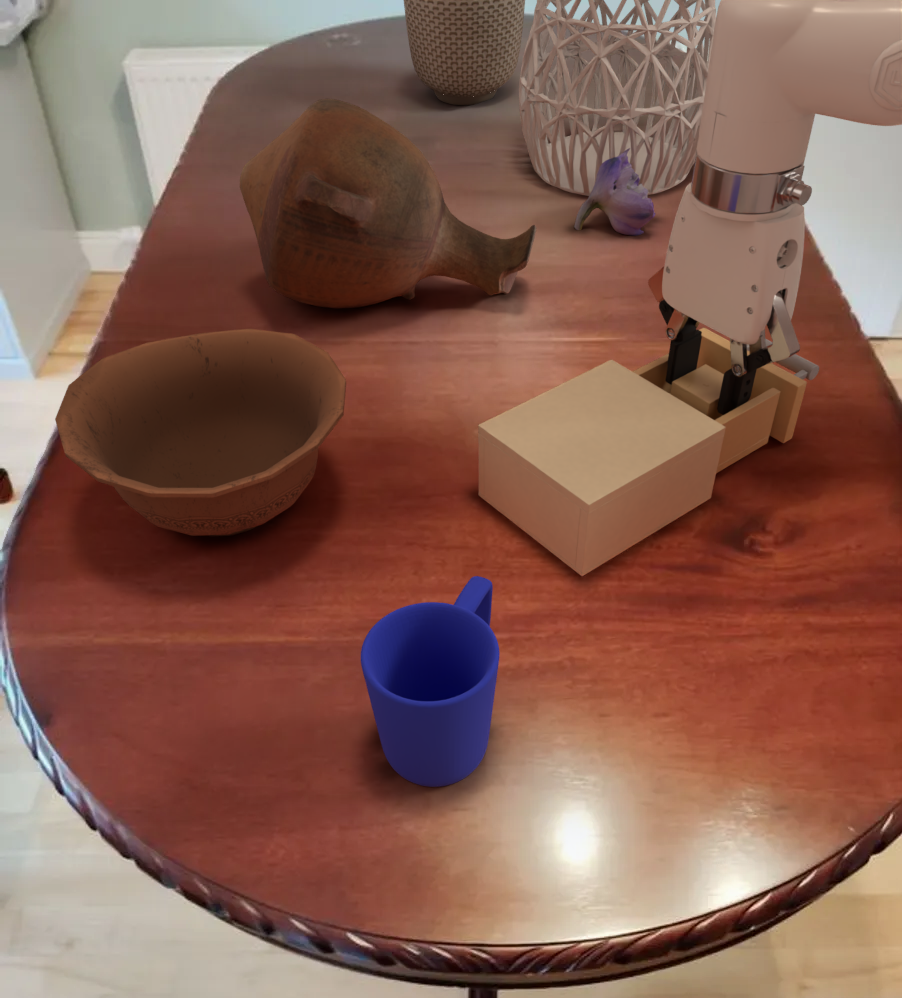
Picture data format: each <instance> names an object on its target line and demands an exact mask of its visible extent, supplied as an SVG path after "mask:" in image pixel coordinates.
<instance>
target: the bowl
mask: <svg viewBox="0 0 902 998" xmlns="http://www.w3.org/2000/svg"><path fill="white" fill-rule="evenodd" d="M346 390H347V378H346V377H345V376H344V374H343V373H342V371H341V369H340V367H338V365H337V364H336V363H335V360H334V359H333V358H332V356H331V355H330V353H329V352H328V351H326V350H325V349H323V348H321V347H319V346H317V345H315V344H314V343H312V342H310V341H308V340H306V339H304V338H302V337H301V336H299V335H297V334H295V333H290V332H282V331H280V332H279V331H273V330H263V329H255V328H242V329H233V330H232V329H230V330H222V331H211V332H201V333H194V334H189V335H183V336H177V337H172V338H171V337H170V338H165V339H159V340H154V341H148V342H145V343H143V344H139V345H137V346H134V347H131V348H127V349H125V350H123V351H120V352H117V353H114V354H110V355H108V356H106V357H103V358H101V359H99V360H98V361H97V362H96V363H94V364H93V365H92V366H90V367H89V368H88V369H86V371H85V372H83V373H82V374H81V375H79V376H78V377H77V378H76V379H74V380H73V381H72V382H70V383H69V384H68V386H67V388H66V391H65V393H64V396H63V398H62V400H61V403H60V406H59V408H58V410H57V413H56V416H55V418H54V421H55V424H56V427H57V431H58V434H59V435H58V436H59V437H60V441H61V445H62V448H63V451H64V455H65V458H67V459H69V460H70V461H71V462H73V463H74V464H75V465H76V466H78V467H79V468H80V469H81V470H82V471H84V472H85V473H87V474H88V475H89V476H90V477H92V478H93V479H94V480H96V481H97V482H99V483H101V484H105V485H109V486H111V487H113V488H114V490H115V491H116V492H117V494H118V495H119V496H120V497H121V499H122V500H123V501H124V502H125V503H126V504H127V505H128V506H129V507H130V508H132V509H133V510H134V511H135V512H137V513H138V514H139V515H140V516H142V517H143V518H144V519H146V521H148V522H150V523H151V524H152V525H154V526H155V527H158V528H162V529H165V530H169V531H173V532H177V533H181V534H183V535H184V534H185V535H187V536H188V535H189V536H192V537H193V536H195V537H196V536H197V537H198V536H209V537H219V536H220V537H223V536H234V535H238V534H240V533H244V532H247V531H251V530H253V529H255V528H257V527H258V526H261V525H264V524H266V523H267V522H269V521H271V520H273V519H274V518H275V517H277V516H278V515H280V514H281V513H283V512H284V511H286V510H288V509H289V508H291V507H292V506H294V504H295V503H296V502H297V500H298V499H299V498H300V496H301V495H302V493H304V491H305V489H306V488H307V487H308V485H309V484H310V482H312V480H313V478H314V476H315V473H316V470H317V464H318V458H319V449H320V447H321V446H322V444H323V443H324V441H325V440H326V439H327V438H328V436H329V435H330V434H331V432H332V431H333V430H334V428H335V427H336V426H337V425H338V423H339V422H340V420H341V419H342V418H343V417H344V414H345V403H346V392H347V391H346Z"/></svg>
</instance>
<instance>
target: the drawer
mask: <svg viewBox="0 0 902 998" xmlns="http://www.w3.org/2000/svg"><path fill="white" fill-rule="evenodd" d="M698 330H699V331H701V332H702V334H701V336H702V340H701V346H700V351H699V357H698V363H697V368H696V369H698V368H699V367H701V366H703V365H705V364H706V365H708V366H710V367H712V368H713V369H715V370H717V371H719V372H721V373H722V374H724V373H725V372H726V371H728V370H729V369H731V350H730V339H729V340H728V339H727V338H724V337H723V336H721V335H719V334H717V333H716V332H713V331H712V330H710V329H708V328H706V327H702V328H700V329H698ZM765 343H766V347H767V346H769V345H771V344H773V341H772V340H769V339H767V338H765ZM748 355H750V351H749V345H748V344H747V356H748ZM668 356H669V352H667V353H666V354H663V355H662V356H659V357H658V358H656V359H654V360H652V361H650V362H649V363H646V364H644V365H643V366H640V367H638V368H636V369H634V370H631V371H632V372H634V373H636V374H637V375H639V376H641V377H642V378H644V379H646V380H647V381H649V382H651V383H652V384H654V385H656V386H657V387H659V388H661V389H663V390H664V391H666V392H668V393H669V394H670V393H671V387H672V385H671V384H669V383H667V382H666V373H667V367H668ZM775 363H776V364H778V365H779V366H781V367H784V368H785V369H786V370H785V369H783V368H781V367H779V366H777V365H776V364H774V363H769V364H766V365H764V366H762V367H760V368H758V369H757V370H756V375H755V379H754V383H753V388H752V392H751V396H750V399H749V400H748V402H746V403H744V404H743V405H741V406H739V407H737V408H736V409H734V410H732V411H730V412H728V413H727V414H725V415H723V416H721V417H720V418H718V419H716V420H715V421H716V422H718V423H720V424H722V425H723V426H725V427H726V429H725V433H724V438H723V443H722V447H721V452H720V457H719V462H718V466H717V471H716V474H718V473H720V472H721V471H723V470H724V469H726V468H728V467H729V466H731V465H734V463H737V462H738V461H739V460H741V459H743V458H745V457H746V456H748V455H750V454H752V453H753V452H754V451H756V450H758V449H760V448H761V447H763V446H765V445H767V444H768V443H769V438H770V437H772V438H773V439H775V440H777V441H778V442H780V443H782V444H785V443H787V442H788V441H790V440H791V439H793V436H794V432H795V429H796V425H797V422H798V417H799V414H800V411H801V407H802V402H803V399H804V395H805V393H806V392H805V391H806V388H807V384H808V382H807V381H813V380H814V379H815V378H816V377H817V375H818V374H819V371H820V365H818V364H816V363H814V362H812V361H810V360H808V359H807V358H805V357H802V356H800V355H798V354H797V353H796V354H794V355H792V356H791V357H789V358H787V359H784V360H780V361H777V362H775ZM787 370H789V371H791V372H793V373H794V374H793V373H791V372H789V371H787ZM805 379H806V380H807V381H806V380H805Z"/></svg>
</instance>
